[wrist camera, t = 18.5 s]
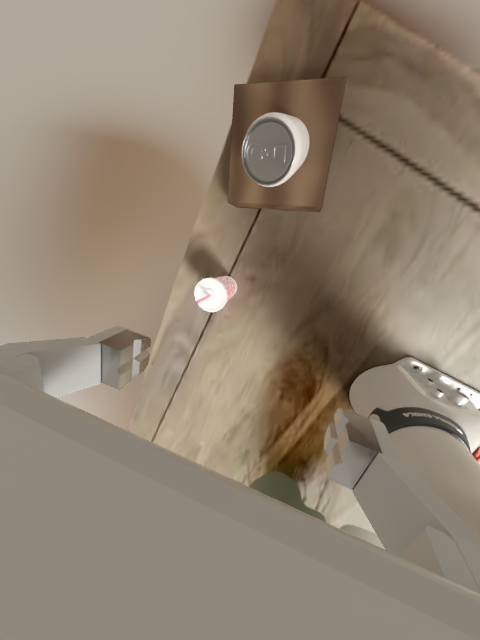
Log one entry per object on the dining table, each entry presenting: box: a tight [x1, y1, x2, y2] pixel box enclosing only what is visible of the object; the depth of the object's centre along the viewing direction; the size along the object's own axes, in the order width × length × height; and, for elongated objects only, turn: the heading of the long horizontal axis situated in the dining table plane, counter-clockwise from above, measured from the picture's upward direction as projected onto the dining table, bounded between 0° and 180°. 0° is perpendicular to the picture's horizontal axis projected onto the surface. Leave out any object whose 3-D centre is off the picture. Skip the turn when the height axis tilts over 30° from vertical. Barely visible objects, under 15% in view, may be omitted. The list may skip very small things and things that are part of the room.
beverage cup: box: [194, 276, 237, 312], centre depth 41 cm, size 6×6×14 cm
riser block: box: [228, 77, 347, 212], centre depth 35 cm, size 15×15×6 cm
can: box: [241, 112, 309, 187], centre depth 27 cm, size 6×6×12 cm
